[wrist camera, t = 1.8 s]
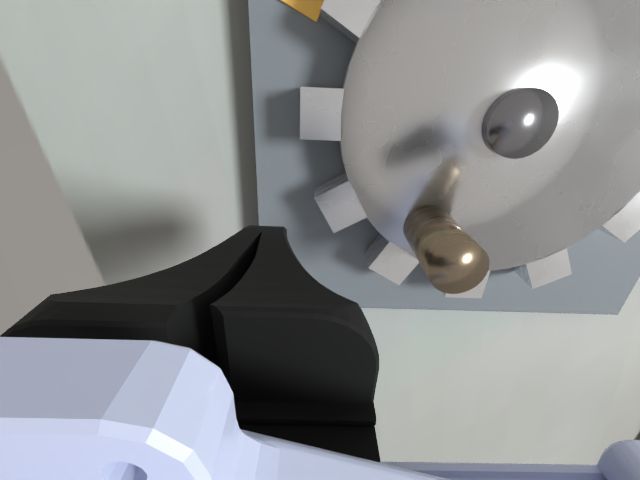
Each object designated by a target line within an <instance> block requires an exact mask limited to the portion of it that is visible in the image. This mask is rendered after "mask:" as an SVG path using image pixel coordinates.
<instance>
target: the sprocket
mask: <svg viewBox="0 0 640 480" xmlns="http://www.w3.org/2000/svg"><path fill="white" fill-rule="evenodd" d="M320 17H322V18H323V19H324V20H326V21H327V22H328V23H330V24H331V25H332V26H333V27H335V28H336V29H337V30H339V31H340V32H341V33H343V34H344V35H345V36H347V37H348V38H349V39H350V40H352V41H353V42H354V43H355V46H354V49H353V51H352V54H351V57H350V60H349V62H348V65H347V68H346V73H345V77H344V81H343V85H342V88H324V87H300V139H304V140H329V141H339V142H340V150H341V156H342V160H343V164H344V168H345V173H343V174H341V175H339V176H337V177H335V178H333V179H332V180H330V181H328V182H326V183H324V184H322V185H320V186H318V187H316V188H314V199H315V201H316V202H317V204H318V206H319V208H320V210H321V211H322V213H323V215H324V217H325V219H326V220H327V222H328V224H329V226H330V227H331V229H332V231H333V233H335V232H337V231H339V230H342V229H344V228H346V227H348V226H350V225H352V224H354V223H356V222H358V221H361V220H363V219H365V218H367V219H368V220H369V221H370V222H371V224H372V225H373V226H374V227H375V229H376V230H377V231H378V232H379V233H380V234H379V235H378V237H377V238H376V239H375V240H374V242H373V243H372V244H371V246H370V247H369V248H368V249H367V251H366V252H365V253H364V254H365V258H366V261H367V265H368V268H369V269H371V270H373V271H375V272H376V273H378V274H380V275H382V276H384V277H385V278H387V279H389V280H391V281H392V282H394V283H396V284H398V285H400V284H401V283H402V281H403V280H404V279H405V278H406V277H407V276H408V275H409V274H410V272H411V271H412V270H413V269H414V268H415V267H416V266H417V264H418V263H420V265H421V266H422V268H423V270H424V271H425V273H426V275H427V277H428V278H429V280H430V282H431V284H432V285H433V286H434V287H435V288H436V289H437V290H439V291H441V292H442V293H443V295H444V297H449V298H482V295H483V292H484V289H485V286H486V283H487V280H488V277H489V274H490V271H493V270H500V269H508V268H512V267H515V271H516V274H517V275H518V276H519V277H521V278H522V279H523V280H524V281H525V282H526V283H527V284H528V285H529V286H530V287H531V288H532V289H535V288H537V287H540V286H542V285H545V284H548V283H550V282H553V281H555V280H558V279H561V278H563V277H566V276H568V275H571V274H572V272H571V267H570V262H569V257H568V252H567V247H569V246H571V245H573V244H574V243H576V242H578V241H580V240H581V239H583V238H585V237H586V236H588V235H589V234H591V233H592V232H594V231H595V230H597V229H599V230H600V231H602V232H604V233H606V234H608V235H610V236H612V237H614V238H616V239H618V240H620V241H622V242H624V243H625V242H626V241H627V240H628V239H629V238H630V237H632V236H633V235H634V234H635V233H636V232H638V231H639V230H640V0H325V1H324V2H323V4H322V6H321V10H320Z"/></svg>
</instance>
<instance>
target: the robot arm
mask: <svg viewBox="0 0 640 480" xmlns="http://www.w3.org/2000/svg"><path fill="white" fill-rule="evenodd" d="M378 371H379V354H378V350H377V346H376V343H375V339H374V337H373V334H372V332H371V329H370V327H369V324H368V322H367V320H366V318H365V316H364V314H363V312H362V310H361V308H360V306H359V305H358V303H356V302H354V301H352V300H349V299H347V298H345V297H343V296H340V295H338V294H336V293H334V292H333V291H331V290H330V289H328V288H326V287H325V286H323V285H322V284H320V283H319V282H318V281H317V280H315V279H314V278H313V277H312V276H311V275H310V274H309V273H308V272H307V271H306V270H305V268H304V267H303V266H302V265H301V263H300V262H299V260H298V259H297V257H296V256H295V254H294V252H293V250H292V248H291V246H290V244H289V242H288V239H287V229H286V228H285V227H281V226H251V225H250V226H248V227H246V228H244V229H242V230H241V231H239V232H238V233H236V234H235V235H233V236H231V237H230V238H228V239H227V240H225V241H224V242H222V243H220V244H219V245H217V246H215V247H213V248H211V249H210V250H208V251H206V252H204V253H202V254H201V255H199V256H197V257H194V258H192V259H190V260H188V261H186V262H183V263H181V264H178V265H176V266H173V267H171V268H168V269H165V270H162V271H159V272H156V273H153V274H150V275H147V276H143V277H140V278H136V279H132V280H128V281H124V282H120V283H116V284H111V285H107V286H102V287H97V288H92V289H85V290H79V291H73V292H67V293H61V294H53V295H50V296H49V297H47V298H46V299H45V300H44V301H42V302H41V303H40V304H39V305H38V306H36V307H35V308H34V309H33V310H31V311H30V312H29V313H28V314H27V315H26V316H24V317H23V318H22V319H20V320H19V321H18V322H17V323H15V324H14V325H13V326H12V327H11V328H9V329H8V330H7V331H6V332H4V333H3V334H2V335H1V336H0V480H640V440H624V441H619V442H616V443H614V444H611V445H610V446H609V447H608V448H606V449H605V451H604V452H603V453H602V455H601V457H600V459H599V461H598V464H597V465H563V464H495V463H426V462H380V457H379V451H378V445H377V439H376V433H375V427H374V425H375V424H376V414H375V408H374V403H373V400H374V394H375V388H376V382H377V376H378Z"/></svg>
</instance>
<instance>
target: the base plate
mask: <svg viewBox="0 0 640 480" xmlns="http://www.w3.org/2000/svg"><path fill="white" fill-rule="evenodd" d="M324 1H325V0H248V10H249V31H250V51H251V72H252V93H253V113H254V134H255V155H256V176H257V196H258V217H259V226H281V227H285V228H286V229H287V239H288V242H289V244H290V246H291V248H292V250H293V252H294V254H295V256H296V257H297V259H298V260H299V262H300V263H301V265H302V266H303V267H304V268H305V270H306V271H307V272H308V273H309V274H310V275H311V276H312V277H313V278H314V279H315V280H317V281H318V282H319V283H320V284H322V285H323V286H325V287H326V288H328V289H330V290H331V291H333V292H334V293H336V294H338V295H340V296H343V297H345V298H347V299H349V300H352V301H354V302H356V303H358V305H359V306H360V308H392V309H429V310H465V311H502V312H539V313H575V314H612V315H618V313H619V312H620V310H621V308H622V306H623V305H624V303H625V301H626V299H627V298H628V296H629V294H630V292H631V291H632V289H633V287H634V285H635V284H636V282H637V280H638V278H639V277H640V230H639V231H638V232H636V233H635V234H634V235H633V236H632V237H630V238H629V239H628V240H627V241H626V242H625V243H624V242H622V241H620V240H618V239H616V238H614V237H612V236H610V235H608V234H606V233H604V232H602V231H600V230H599V229H597V230H595V231H594V232H592V233H591V234H589V235H588V236H586V237H585V238H583V239H581V240H580V241H578V242H576V243H574V244H573V245H571V246H569V247H567V252H568V257H569V262H570V267H571V272H572V274H571V275H568V276H566V277H563V278H561V279H558V280H555V281H553V282H550V283H548V284H545V285H542V286H540V287H537V288H535V289H532V288H531V287H530V286H529V285H528V284H527V283H526V282H525V281H524V280H523V279H522V278H521V277H519V276H518V275H517V274H516V271H515V267H512V268H508V269H500V270H493V271H490V274H489V277H488V280H487V283H486V286H485V289H484V292H483V295H482V298H449V297H444V295H443V293H442V292H441V291H439V290H437V289H436V288H435V287H434V286H433V285H432V284H431V282H430V280H429V278H428V277H427V275H426V273H425V271H424V270H423V268H422V266H421V265H420V263H418V264H417V266H416V267H415V268H414V269H413V270H412V271H411V272H410V274H409V275H408V276H407V277H406V278H405V279H404V280H403V281H402V283H401V284H400V285H398V284H396V283H394V282H392V281H391V280H389V279H387V278H385V277H384V276H382V275H380V274H378V273H376V272H375V271H373V270H371V269H369V268H368V265H367V261H366V258H365V254H364V253H365V252H366V251H367V249H368V248H369V247H370V246H371V244H372V243H373V242H374V240H375V239H376V238H377V237H378V235H379V234H380V233H379V232H378V231H377V230H376V229H375V227H374V226H373V225H372V224H371V222H370V221H369V220H368V219H367V218H365V219H363V220H361V221H358V222H356V223H354V224H352V225H350V226H348V227H346V228H344V229H342V230H339V231H337V232H335V233H333V231H332V229H331V227H330V226H329V224H328V222H327V220H326V219H325V217H324V215H323V213H322V211H321V210H320V208H319V206H318V204H317V202H316V201H315V199H314V188H316V187H318V186H320V185H322V184H324V183H326V182H328V181H330V180H332V179H333V178H335V177H337V176H339V175H341V174H343V173H345V168H344V164H343V160H342V156H341V150H340V142H339V141H329V140H304V139H300V87H324V88H342V85H343V81H344V77H345V73H346V68H347V65H348V62H349V60H350V57H351V54H352V51H353V49H354V46H355V43H354V42H353V41H352V40H350V39H349V38H348V37H347V36H345V35H344V34H343V33H341V32H340V31H339V30H337V29H336V28H335V27H333V26H332V25H331V24H330V23H328V22H327V21H326V20H324V19H323V18H322V17H320V10H321V6H322V4H323V2H324Z"/></svg>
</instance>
